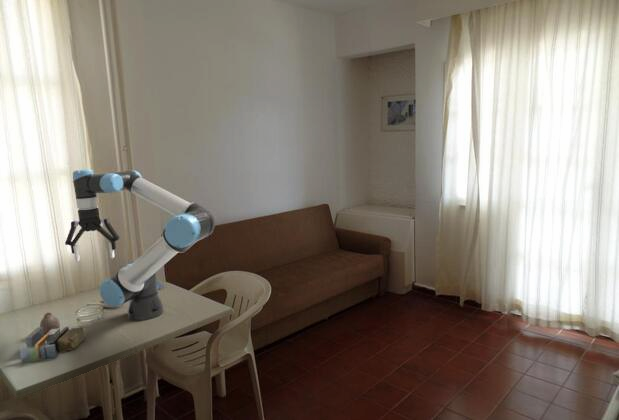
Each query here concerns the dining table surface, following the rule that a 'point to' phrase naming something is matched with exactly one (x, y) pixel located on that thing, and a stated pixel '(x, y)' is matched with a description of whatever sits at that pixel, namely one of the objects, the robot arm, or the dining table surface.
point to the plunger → (51, 338)
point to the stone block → (70, 339)
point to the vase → (49, 323)
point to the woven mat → (159, 286)
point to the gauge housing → (31, 352)
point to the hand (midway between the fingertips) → (95, 259)
